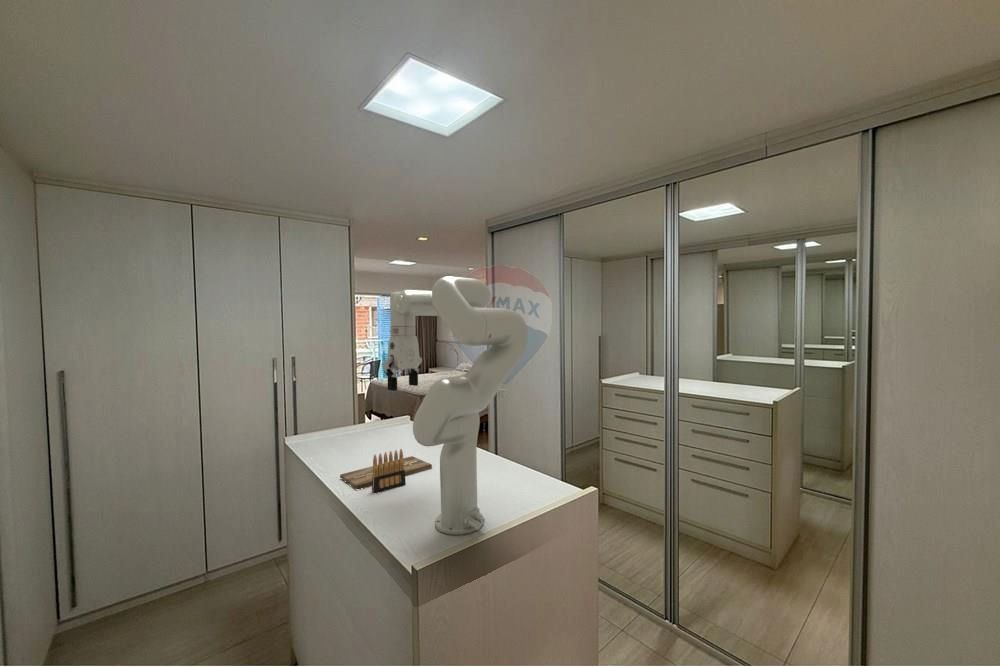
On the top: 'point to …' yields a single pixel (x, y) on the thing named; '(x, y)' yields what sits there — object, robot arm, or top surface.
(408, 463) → the walnut board
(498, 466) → the top surface
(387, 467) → the ammunition clip
